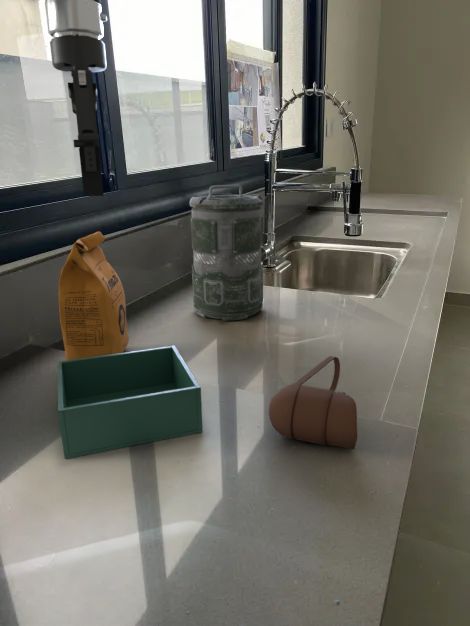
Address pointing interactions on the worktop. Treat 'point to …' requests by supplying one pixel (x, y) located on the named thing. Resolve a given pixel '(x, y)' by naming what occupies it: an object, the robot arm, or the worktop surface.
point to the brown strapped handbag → (315, 412)
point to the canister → (227, 254)
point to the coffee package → (91, 303)
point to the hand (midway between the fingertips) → (92, 192)
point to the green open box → (126, 400)
